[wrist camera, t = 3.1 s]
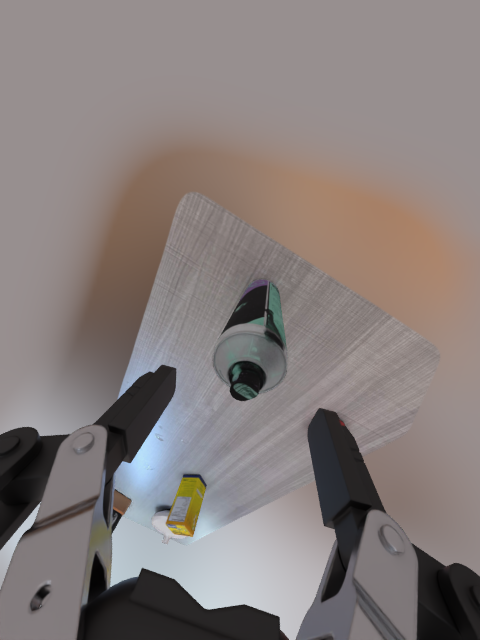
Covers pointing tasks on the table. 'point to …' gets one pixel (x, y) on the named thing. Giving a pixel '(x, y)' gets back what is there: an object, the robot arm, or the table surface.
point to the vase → (164, 526)
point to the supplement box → (186, 506)
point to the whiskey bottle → (118, 509)
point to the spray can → (253, 343)
